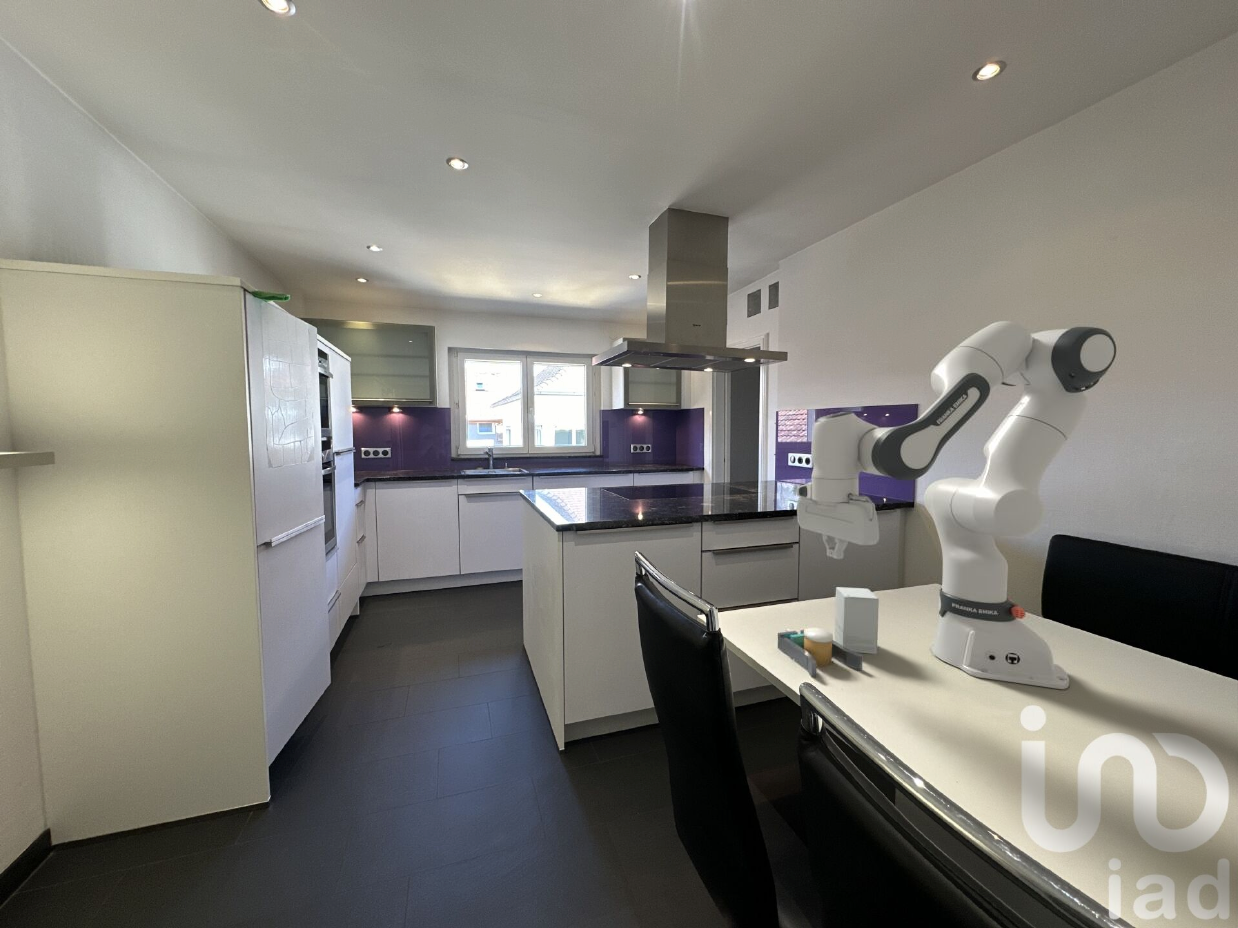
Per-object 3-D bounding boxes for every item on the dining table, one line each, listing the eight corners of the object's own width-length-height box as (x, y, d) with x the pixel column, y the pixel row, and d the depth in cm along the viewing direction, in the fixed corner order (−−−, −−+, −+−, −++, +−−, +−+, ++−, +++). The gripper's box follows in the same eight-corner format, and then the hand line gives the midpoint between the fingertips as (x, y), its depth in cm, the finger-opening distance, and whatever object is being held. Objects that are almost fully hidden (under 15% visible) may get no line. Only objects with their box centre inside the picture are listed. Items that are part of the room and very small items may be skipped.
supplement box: (878, 654, 103) (879, 598, 102) (842, 651, 104) (843, 596, 103) (867, 640, 110) (868, 588, 109) (833, 637, 111) (835, 585, 111)
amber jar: (833, 658, 101) (834, 631, 101) (830, 669, 96) (831, 641, 96) (805, 651, 104) (806, 625, 104) (801, 662, 99) (802, 635, 99)
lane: (863, 670, 96) (863, 653, 95) (812, 677, 93) (812, 660, 92) (820, 642, 109) (820, 627, 108) (774, 648, 106) (774, 633, 105)
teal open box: (821, 648, 105) (821, 633, 105) (792, 652, 103) (792, 636, 103) (800, 634, 112) (800, 620, 112) (773, 638, 110) (773, 623, 110)
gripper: (887, 496, 87) (887, 568, 87) (815, 486, 106) (816, 545, 107) (859, 498, 85) (859, 572, 86) (791, 487, 105) (792, 547, 106)
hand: (835, 557), depth 97 cm, fingers closed
